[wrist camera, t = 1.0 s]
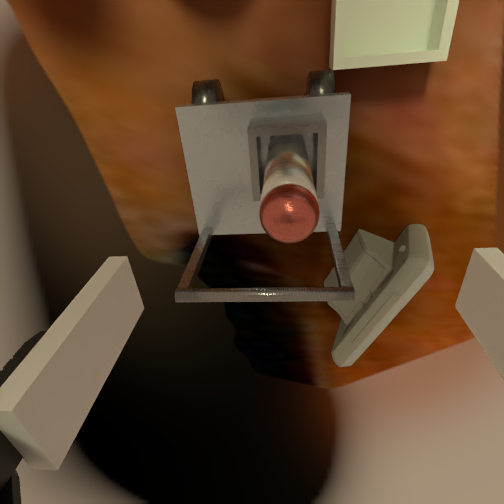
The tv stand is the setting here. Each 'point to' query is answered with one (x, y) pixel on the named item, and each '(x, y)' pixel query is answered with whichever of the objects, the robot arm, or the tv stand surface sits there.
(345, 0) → the tray
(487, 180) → the tv stand surface
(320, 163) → the trolley
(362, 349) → the digital clock
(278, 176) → the pin
